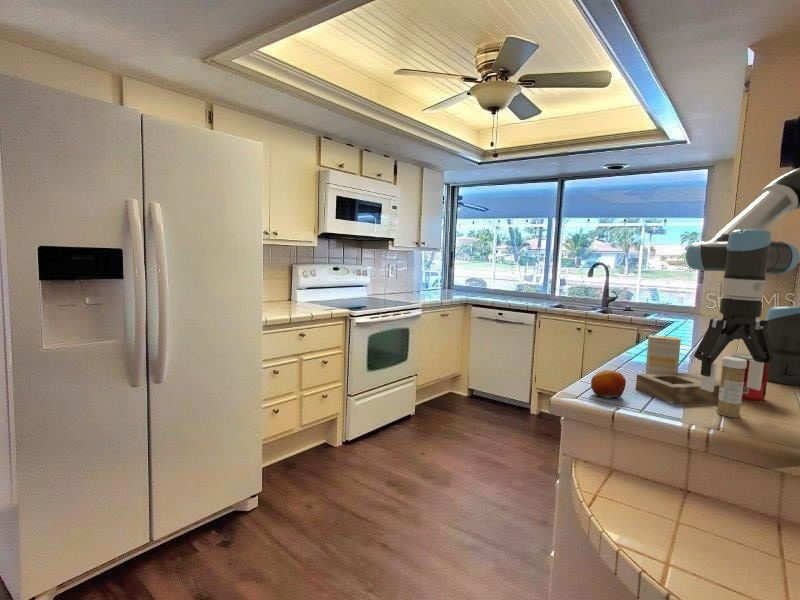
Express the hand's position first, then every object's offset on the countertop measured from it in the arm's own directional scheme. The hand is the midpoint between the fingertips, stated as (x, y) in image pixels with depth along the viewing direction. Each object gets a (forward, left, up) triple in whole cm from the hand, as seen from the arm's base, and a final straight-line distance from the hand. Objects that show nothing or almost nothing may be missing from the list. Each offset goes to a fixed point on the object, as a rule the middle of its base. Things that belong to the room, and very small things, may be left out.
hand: (730, 389), depth 103 cm
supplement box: (-8, -28, -6) cm, 30 cm away
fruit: (+20, -16, -6) cm, 26 cm away
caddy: (-3, -15, -6) cm, 17 cm away
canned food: (-19, -11, -6) cm, 23 cm away
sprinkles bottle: (0, 0, -6) cm, 6 cm away
